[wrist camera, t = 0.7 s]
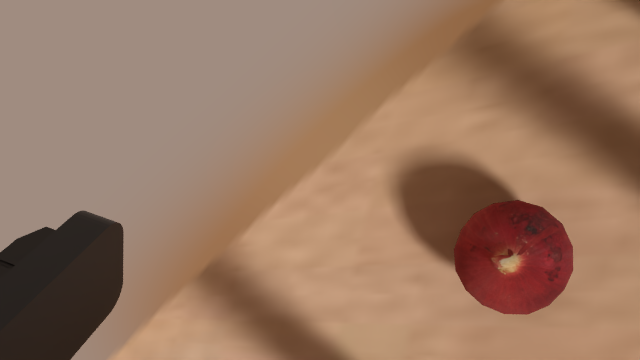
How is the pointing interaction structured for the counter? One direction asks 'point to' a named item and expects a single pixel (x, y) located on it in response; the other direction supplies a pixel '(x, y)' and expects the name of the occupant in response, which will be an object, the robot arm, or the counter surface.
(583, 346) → the counter surface
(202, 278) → the counter surface
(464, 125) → the counter surface
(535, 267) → the onion
